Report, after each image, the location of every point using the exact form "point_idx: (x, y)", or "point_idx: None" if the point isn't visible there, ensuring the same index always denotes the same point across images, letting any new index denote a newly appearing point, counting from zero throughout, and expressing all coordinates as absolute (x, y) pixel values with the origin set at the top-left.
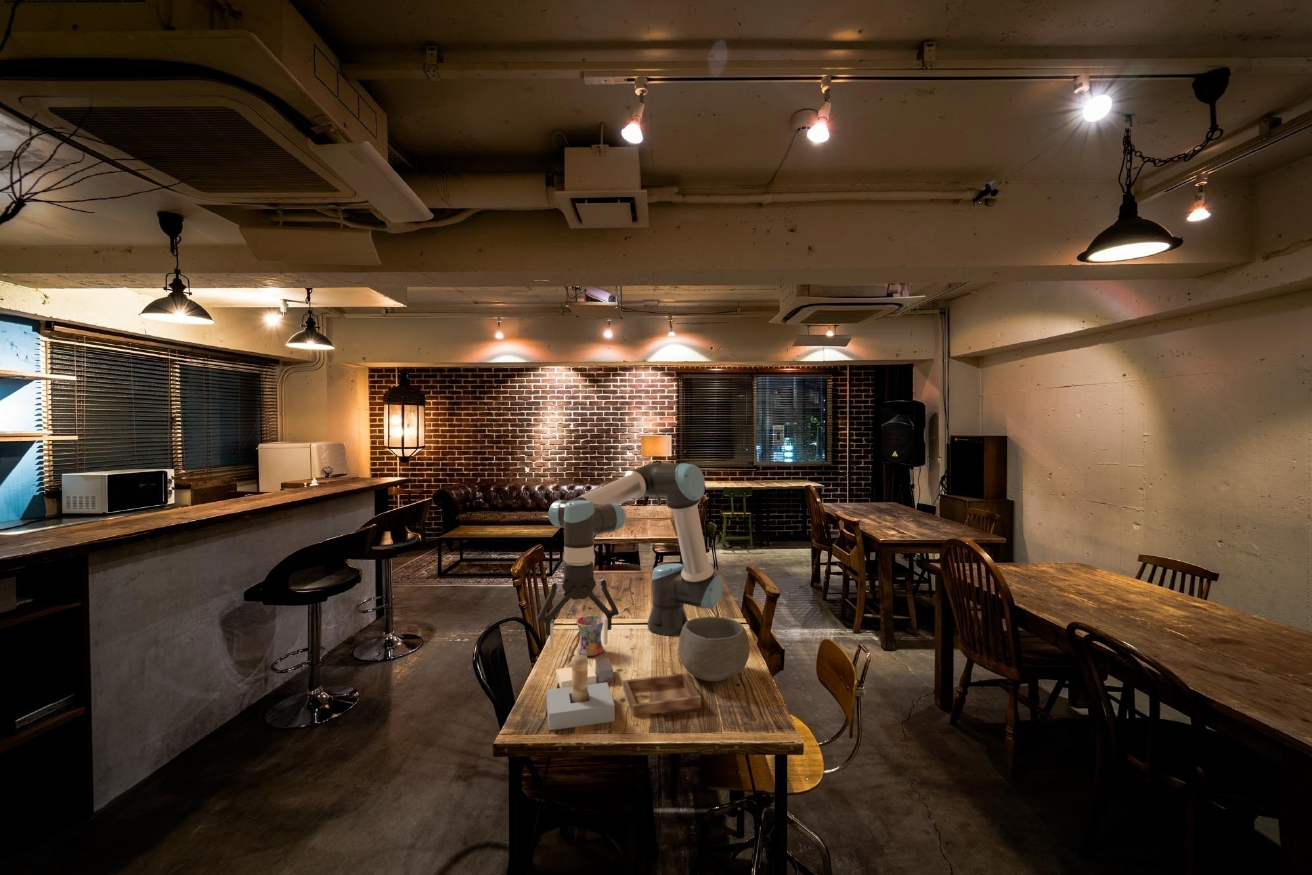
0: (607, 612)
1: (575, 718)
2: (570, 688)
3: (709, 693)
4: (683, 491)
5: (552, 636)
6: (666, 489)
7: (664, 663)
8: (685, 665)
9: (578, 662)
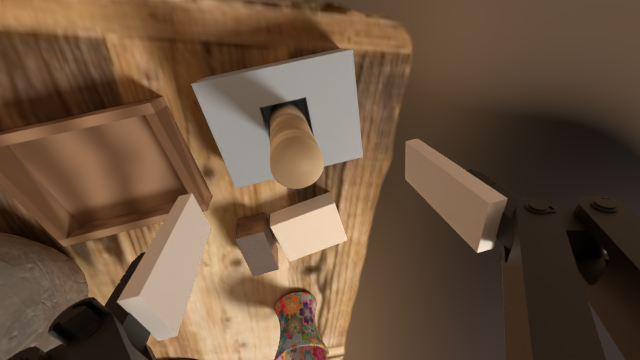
0: (88, 356)
1: (288, 61)
2: None
3: (4, 201)
4: None
5: (442, 164)
6: None
7: None
8: (53, 261)
9: (297, 138)
